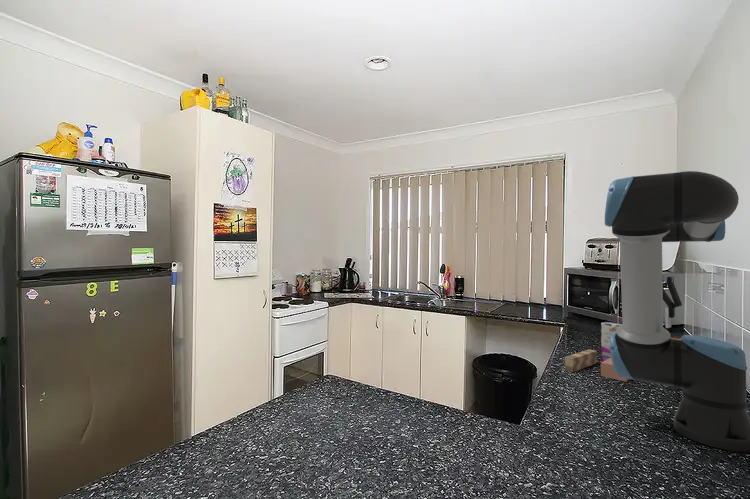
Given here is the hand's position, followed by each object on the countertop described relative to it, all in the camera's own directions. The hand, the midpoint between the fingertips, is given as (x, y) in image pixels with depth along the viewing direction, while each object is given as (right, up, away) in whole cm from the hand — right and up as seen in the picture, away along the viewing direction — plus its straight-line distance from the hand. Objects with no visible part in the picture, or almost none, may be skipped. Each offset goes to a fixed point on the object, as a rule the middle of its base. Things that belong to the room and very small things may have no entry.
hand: (648, 324), depth 128 cm
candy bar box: (+2, -20, +19) cm, 28 cm away
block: (-6, -20, +8) cm, 22 cm away
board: (-13, -20, +18) cm, 30 cm away
